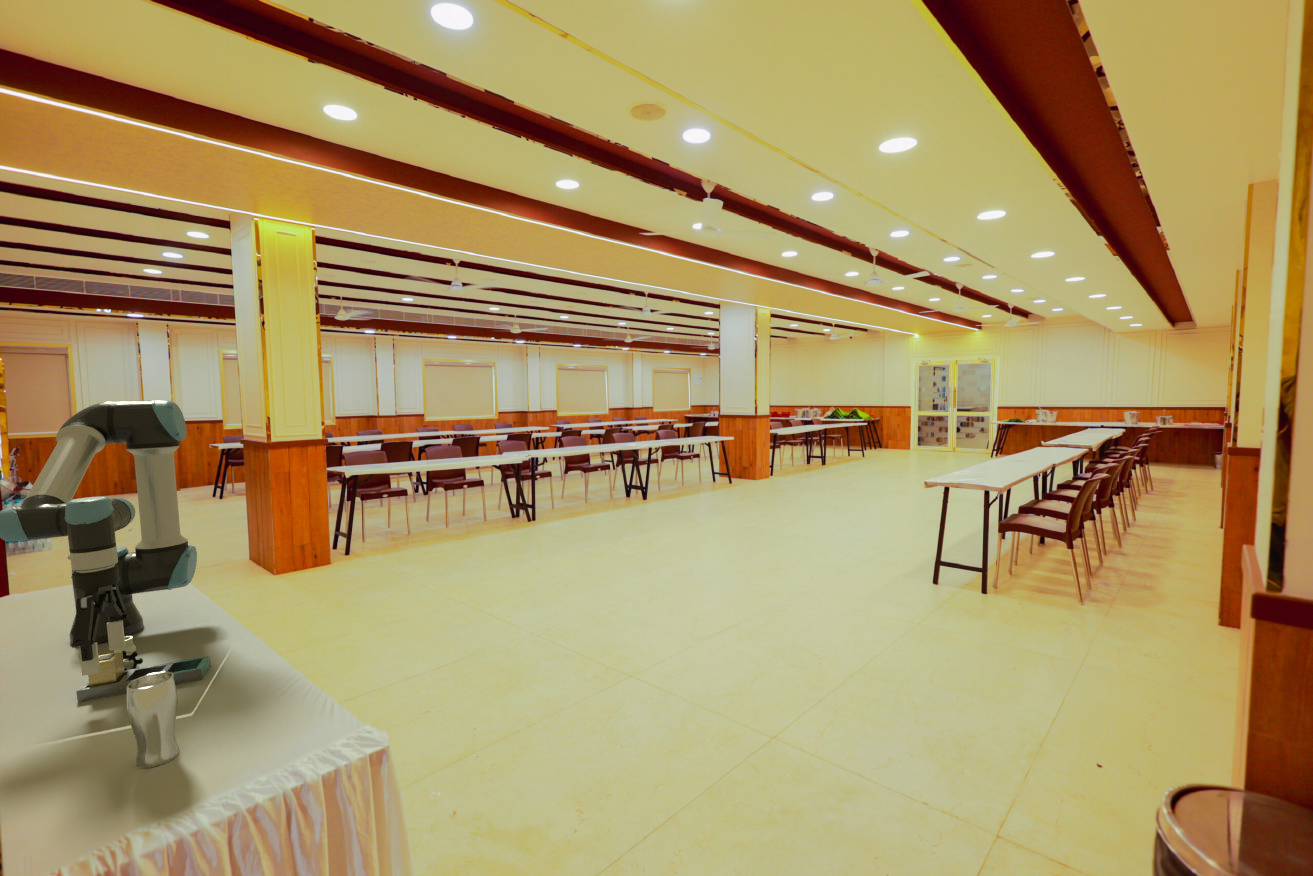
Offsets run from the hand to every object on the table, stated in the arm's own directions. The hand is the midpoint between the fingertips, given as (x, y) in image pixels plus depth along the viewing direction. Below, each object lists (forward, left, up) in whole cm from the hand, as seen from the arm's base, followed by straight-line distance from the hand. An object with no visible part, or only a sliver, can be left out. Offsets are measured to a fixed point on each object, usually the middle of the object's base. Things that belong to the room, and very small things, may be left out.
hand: (105, 660), depth 133 cm
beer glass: (+35, +19, -8) cm, 41 cm away
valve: (-12, -1, -8) cm, 15 cm away
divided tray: (0, +7, -7) cm, 10 cm away
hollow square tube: (0, 0, -7) cm, 7 cm away
